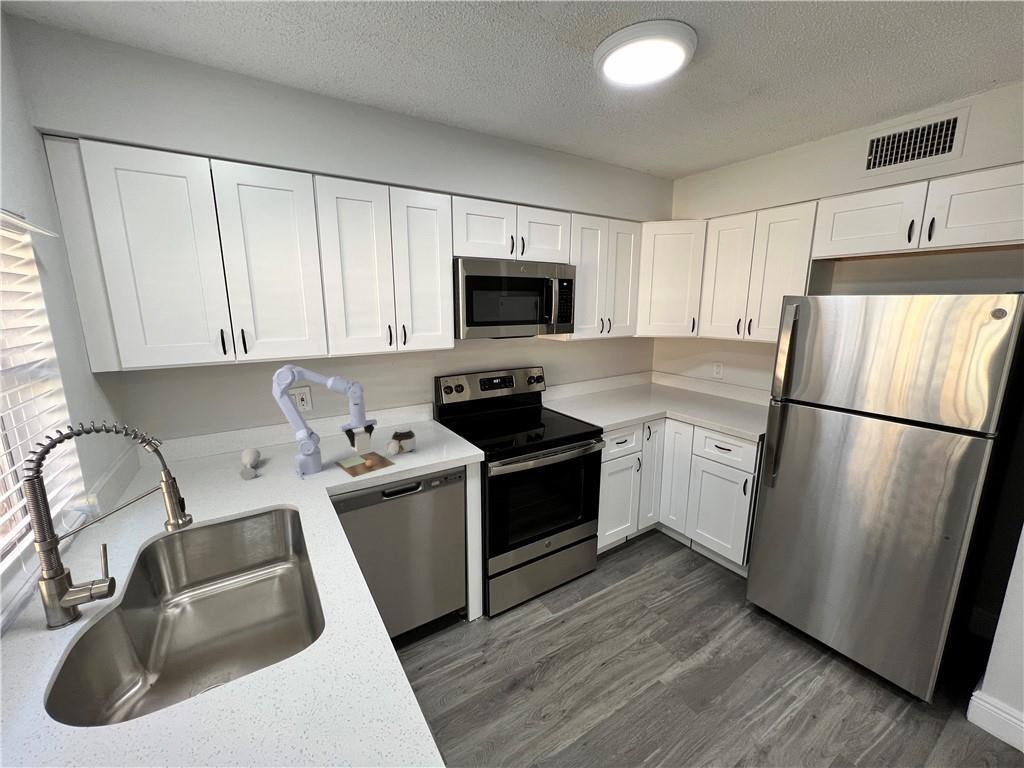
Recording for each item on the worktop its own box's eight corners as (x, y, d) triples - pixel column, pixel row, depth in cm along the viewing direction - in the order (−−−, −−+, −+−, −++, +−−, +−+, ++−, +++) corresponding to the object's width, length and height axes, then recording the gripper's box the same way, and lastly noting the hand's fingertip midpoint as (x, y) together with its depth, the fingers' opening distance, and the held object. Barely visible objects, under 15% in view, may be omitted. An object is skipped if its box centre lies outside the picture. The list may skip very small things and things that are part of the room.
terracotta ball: (367, 468, 168) (367, 461, 167) (364, 466, 170) (364, 459, 169) (374, 466, 170) (374, 459, 169) (371, 464, 172) (371, 457, 171)
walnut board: (353, 479, 160) (353, 477, 160) (333, 464, 175) (333, 462, 174) (396, 466, 172) (395, 463, 172) (374, 453, 187) (373, 451, 186)
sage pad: (346, 468, 169) (346, 467, 169) (337, 462, 175) (337, 461, 175) (367, 462, 175) (367, 461, 175) (358, 456, 181) (358, 455, 181)
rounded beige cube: (357, 452, 166) (355, 436, 165) (351, 448, 170) (350, 433, 169) (370, 448, 170) (369, 433, 169) (364, 445, 174) (363, 430, 173)
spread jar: (418, 448, 192) (416, 424, 189) (409, 458, 181) (408, 432, 178) (393, 448, 193) (391, 424, 191) (383, 457, 182) (381, 432, 180)
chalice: (232, 473, 158) (236, 455, 174) (244, 485, 161) (247, 466, 177) (251, 461, 160) (253, 445, 176) (262, 474, 163) (264, 456, 179)
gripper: (343, 418, 159) (346, 452, 162) (379, 411, 169) (381, 442, 172) (336, 414, 164) (339, 447, 167) (371, 408, 174) (374, 438, 177)
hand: (360, 444), depth 170 cm, fingers closed on rounded beige cube, 6 cm apart
